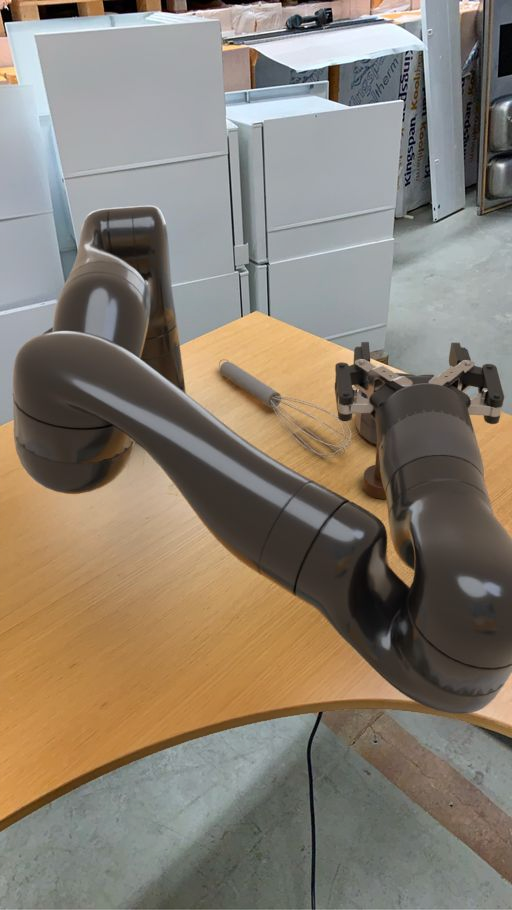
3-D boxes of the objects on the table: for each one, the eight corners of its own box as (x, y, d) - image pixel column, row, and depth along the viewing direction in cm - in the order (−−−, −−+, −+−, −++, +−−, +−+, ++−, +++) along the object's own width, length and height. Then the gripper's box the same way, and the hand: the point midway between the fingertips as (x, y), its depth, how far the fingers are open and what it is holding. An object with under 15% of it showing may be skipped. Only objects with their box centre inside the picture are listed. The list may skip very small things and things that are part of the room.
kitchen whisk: (234, 364, 116) (231, 332, 112) (359, 459, 94) (362, 423, 90) (204, 375, 114) (201, 342, 110) (326, 475, 91) (327, 439, 87)
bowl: (351, 447, 96) (352, 413, 92) (361, 402, 105) (363, 369, 101) (436, 457, 93) (442, 422, 90) (439, 409, 102) (444, 376, 99)
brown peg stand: (384, 504, 86) (396, 395, 75) (355, 487, 89) (362, 379, 78) (407, 486, 88) (422, 378, 78) (378, 470, 91) (388, 364, 81)
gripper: (533, 415, 48) (490, 315, 61) (337, 412, 49) (335, 314, 62) (512, 492, 53) (477, 383, 65) (334, 487, 54) (333, 382, 67)
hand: (408, 350), depth 64 cm, fingers open, 8 cm apart
